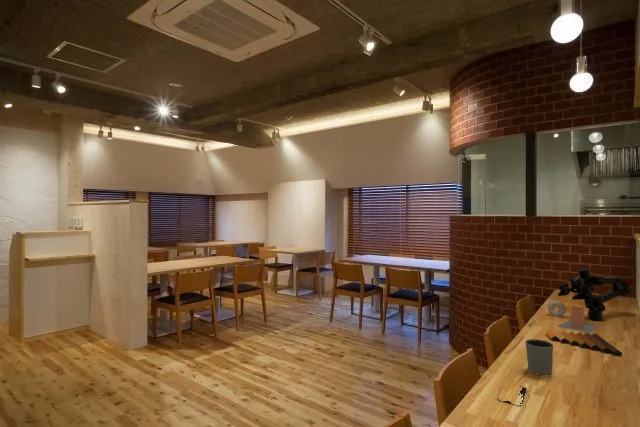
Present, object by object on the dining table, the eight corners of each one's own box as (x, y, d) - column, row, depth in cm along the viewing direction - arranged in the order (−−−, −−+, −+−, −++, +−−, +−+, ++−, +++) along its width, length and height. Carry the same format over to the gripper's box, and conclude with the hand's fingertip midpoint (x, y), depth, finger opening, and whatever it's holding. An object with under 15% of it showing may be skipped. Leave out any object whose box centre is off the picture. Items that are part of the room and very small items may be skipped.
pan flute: (622, 357, 178) (599, 339, 202) (622, 350, 178) (599, 333, 202) (561, 352, 184) (545, 335, 208) (561, 345, 184) (545, 329, 208)
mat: (569, 320, 234) (569, 319, 234) (601, 327, 221) (601, 326, 221) (556, 327, 221) (556, 326, 221) (588, 334, 209) (588, 333, 209)
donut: (566, 317, 241) (566, 301, 241) (565, 318, 238) (565, 302, 238) (548, 314, 248) (548, 299, 248) (546, 315, 246) (546, 299, 245)
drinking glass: (553, 378, 155) (553, 348, 155) (524, 373, 161) (524, 344, 160) (553, 369, 164) (553, 341, 164) (526, 364, 169) (526, 337, 169)
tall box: (573, 326, 221) (573, 304, 221) (583, 328, 217) (583, 306, 217) (571, 327, 219) (571, 305, 219) (581, 329, 215) (581, 307, 215)
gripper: (566, 272, 241) (547, 281, 236) (595, 276, 223) (576, 287, 219) (570, 288, 242) (552, 298, 238) (600, 294, 224) (581, 305, 220)
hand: (565, 297), depth 228 cm, fingers open, 9 cm apart
